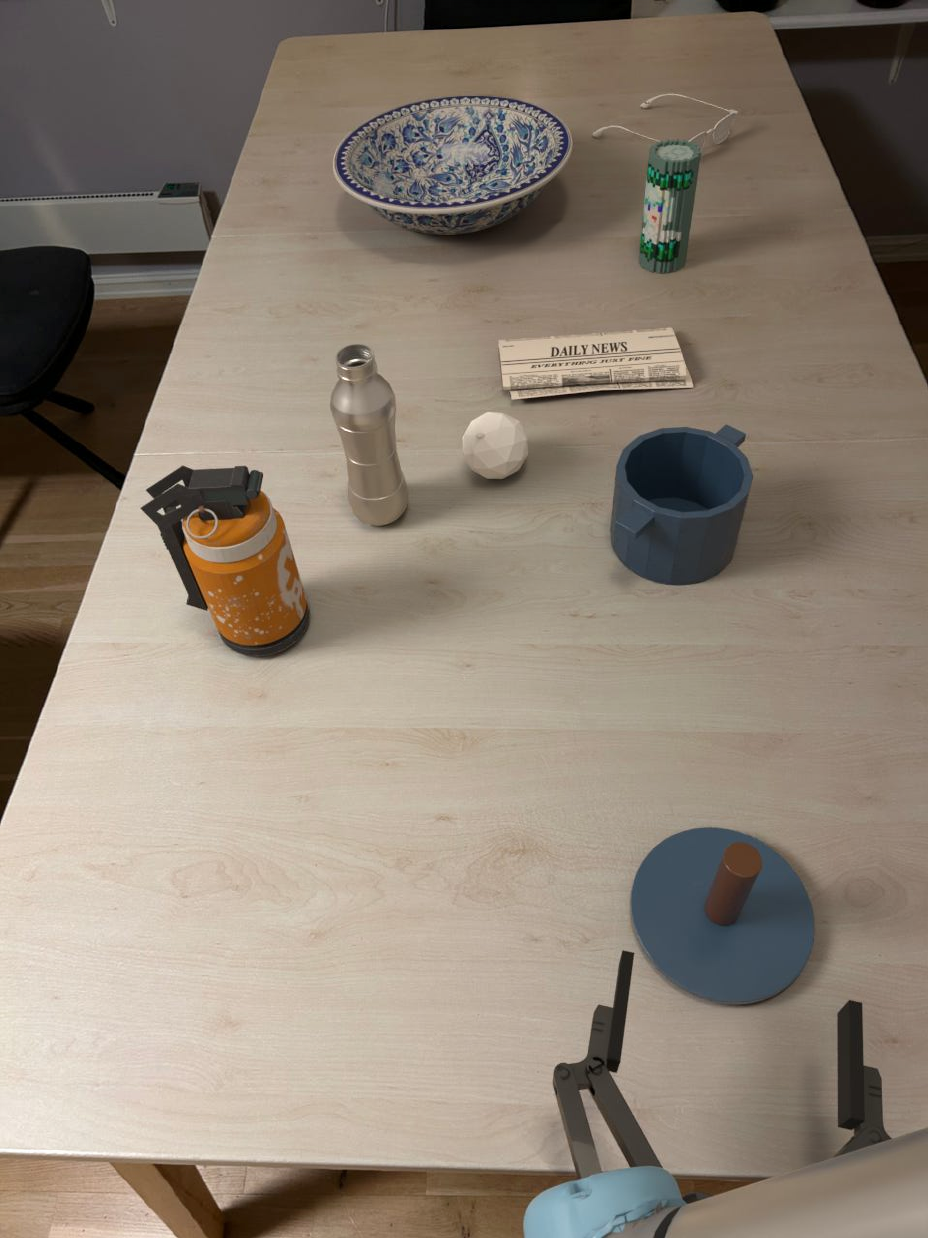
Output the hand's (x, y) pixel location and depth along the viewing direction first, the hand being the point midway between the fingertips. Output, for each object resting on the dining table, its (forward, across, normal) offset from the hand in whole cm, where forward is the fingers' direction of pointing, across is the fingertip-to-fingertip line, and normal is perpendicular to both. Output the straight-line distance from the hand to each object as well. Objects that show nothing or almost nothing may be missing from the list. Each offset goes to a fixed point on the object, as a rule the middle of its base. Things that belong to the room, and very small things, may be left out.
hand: (735, 982), depth 58 cm
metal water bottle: (+46, -38, -11) cm, 61 cm away
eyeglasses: (+137, -18, -11) cm, 138 cm away
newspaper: (+74, -20, -11) cm, 78 cm away
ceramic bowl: (+109, -46, -11) cm, 119 cm away
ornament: (+55, -28, -11) cm, 62 cm away
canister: (+28, -46, -11) cm, 55 cm away
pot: (+48, -7, -11) cm, 49 cm away
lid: (+9, 0, -10) cm, 13 cm away
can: (+100, -14, -11) cm, 102 cm away
